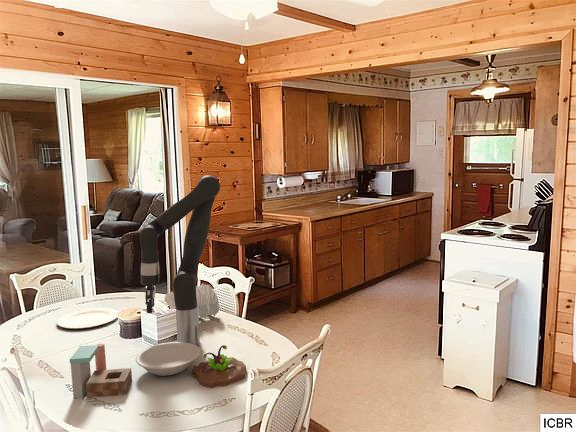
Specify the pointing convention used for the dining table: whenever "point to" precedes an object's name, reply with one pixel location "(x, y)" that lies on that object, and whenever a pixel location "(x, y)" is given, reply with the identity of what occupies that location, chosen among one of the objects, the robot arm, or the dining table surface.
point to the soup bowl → (168, 357)
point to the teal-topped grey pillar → (81, 368)
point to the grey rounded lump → (200, 301)
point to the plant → (219, 370)
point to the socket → (109, 382)
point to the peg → (100, 358)
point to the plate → (87, 318)
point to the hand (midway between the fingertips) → (150, 309)
